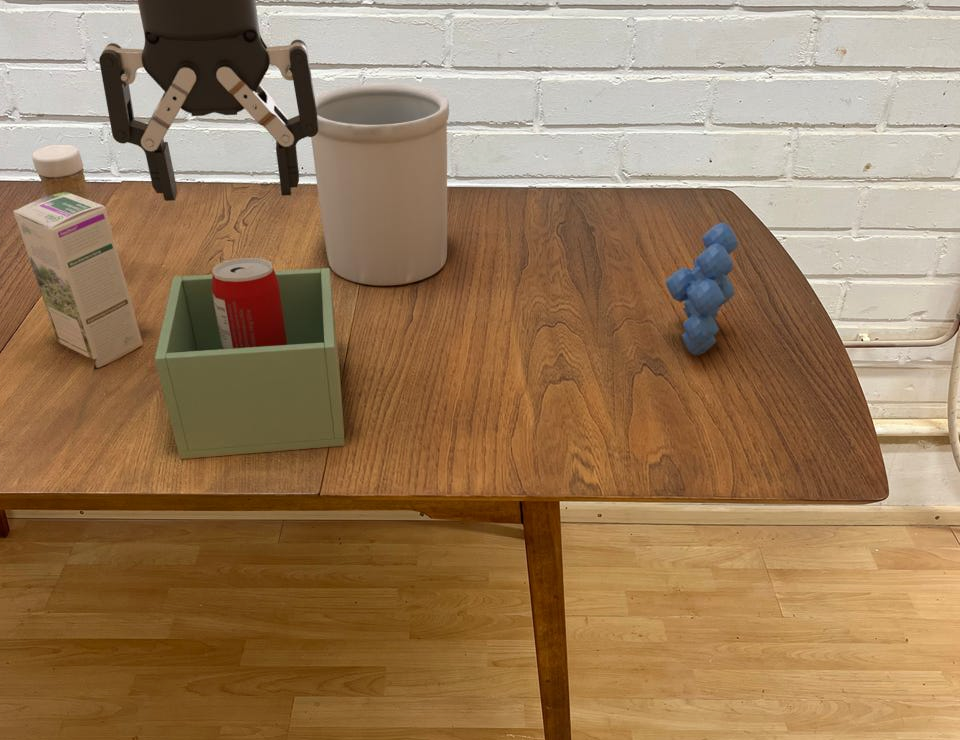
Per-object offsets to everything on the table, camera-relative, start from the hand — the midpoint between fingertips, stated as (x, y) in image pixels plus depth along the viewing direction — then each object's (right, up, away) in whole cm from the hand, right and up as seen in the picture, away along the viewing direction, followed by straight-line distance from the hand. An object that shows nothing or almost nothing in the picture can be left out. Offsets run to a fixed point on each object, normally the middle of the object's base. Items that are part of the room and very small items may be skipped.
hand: (229, 194), depth 67 cm
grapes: (+40, -8, +23) cm, 47 cm away
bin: (0, -15, +13) cm, 20 cm away
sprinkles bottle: (-25, +1, +32) cm, 40 cm away
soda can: (0, -14, +12) cm, 19 cm away
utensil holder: (+8, +4, +36) cm, 37 cm away
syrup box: (-18, -9, +20) cm, 28 cm away
